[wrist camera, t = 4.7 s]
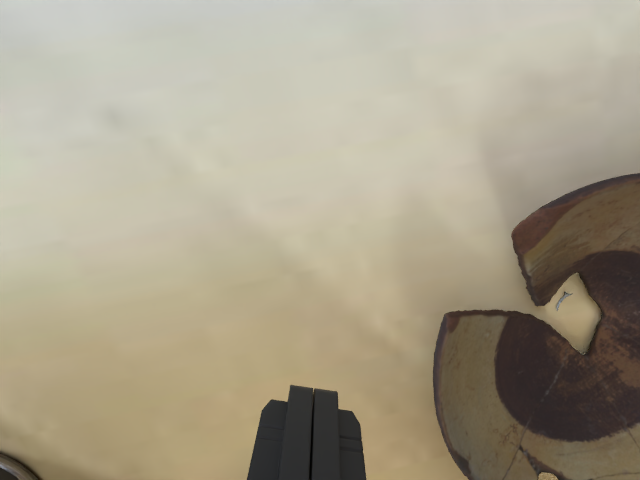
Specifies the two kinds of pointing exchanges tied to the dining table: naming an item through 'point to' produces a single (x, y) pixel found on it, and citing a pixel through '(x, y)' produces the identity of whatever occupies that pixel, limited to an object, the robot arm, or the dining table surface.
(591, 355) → the broken ceramic bowl
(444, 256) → the dining table surface
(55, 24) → the dining table surface
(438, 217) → the dining table surface
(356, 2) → the dining table surface
